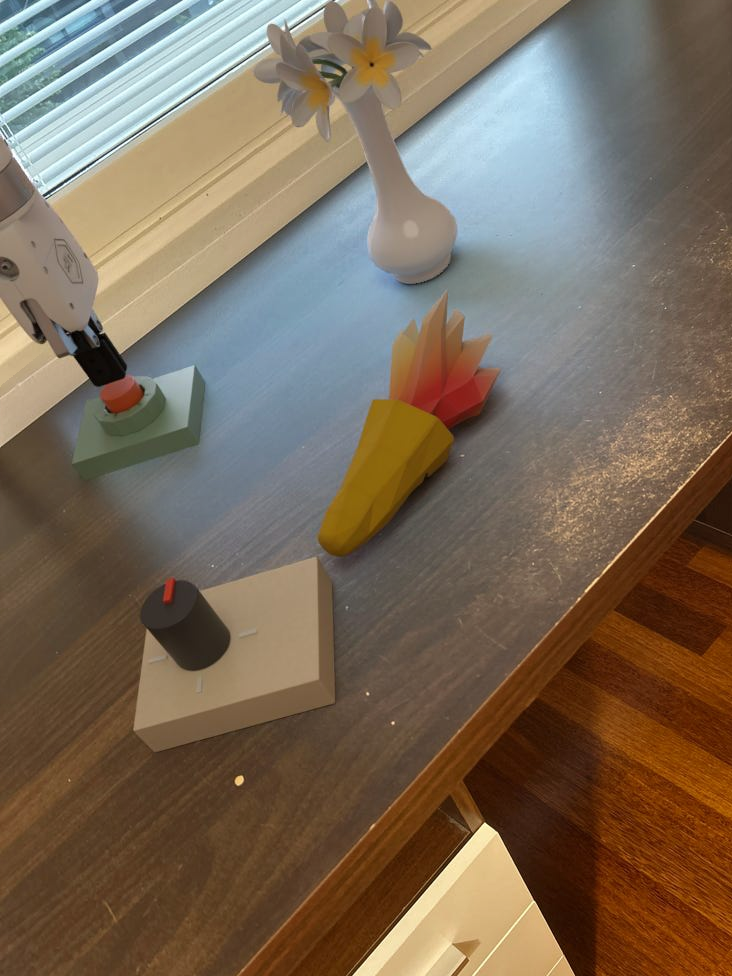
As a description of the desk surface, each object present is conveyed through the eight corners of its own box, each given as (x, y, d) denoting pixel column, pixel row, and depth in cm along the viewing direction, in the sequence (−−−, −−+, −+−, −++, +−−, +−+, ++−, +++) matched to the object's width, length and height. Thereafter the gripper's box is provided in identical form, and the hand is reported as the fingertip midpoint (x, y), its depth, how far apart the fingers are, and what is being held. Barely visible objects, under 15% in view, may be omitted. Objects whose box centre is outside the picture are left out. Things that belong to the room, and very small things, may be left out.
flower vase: (381, 227, 112) (285, -21, 93) (522, 236, 103) (446, -37, 84) (313, 299, 107) (197, 52, 88) (455, 316, 97) (359, 43, 79)
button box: (84, 480, 98) (60, 450, 95) (98, 417, 104) (75, 386, 101) (199, 444, 96) (177, 411, 93) (205, 382, 103) (185, 349, 100)
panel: (154, 753, 74) (131, 729, 71) (168, 629, 81) (148, 604, 79) (335, 703, 72) (318, 677, 69) (332, 581, 79) (316, 554, 77)
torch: (357, 596, 83) (474, 366, 92) (411, 584, 77) (531, 338, 86) (276, 538, 79) (407, 303, 88) (326, 520, 73) (461, 270, 82)
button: (107, 419, 97) (97, 404, 95) (112, 396, 99) (102, 381, 98) (142, 407, 96) (132, 393, 95) (145, 385, 99) (136, 370, 97)
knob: (228, 663, 73) (192, 617, 69) (172, 677, 74) (133, 632, 70) (233, 617, 76) (198, 570, 72) (179, 631, 76) (141, 585, 72)
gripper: (10, 226, 76) (140, 414, 90) (42, 139, 86) (156, 321, 100) (-78, 259, 78) (64, 439, 91) (-36, 169, 87) (87, 345, 101)
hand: (112, 377), depth 96 cm, fingers closed
